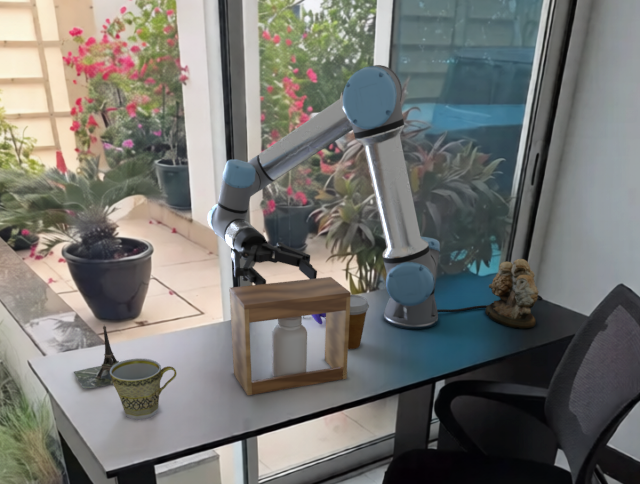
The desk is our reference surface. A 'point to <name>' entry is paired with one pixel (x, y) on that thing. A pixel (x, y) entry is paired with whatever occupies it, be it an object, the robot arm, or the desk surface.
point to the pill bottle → (289, 347)
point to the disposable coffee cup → (356, 320)
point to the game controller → (318, 317)
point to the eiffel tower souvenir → (98, 369)
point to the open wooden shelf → (285, 304)
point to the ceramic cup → (139, 386)
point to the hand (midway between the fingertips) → (290, 281)
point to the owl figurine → (513, 295)
